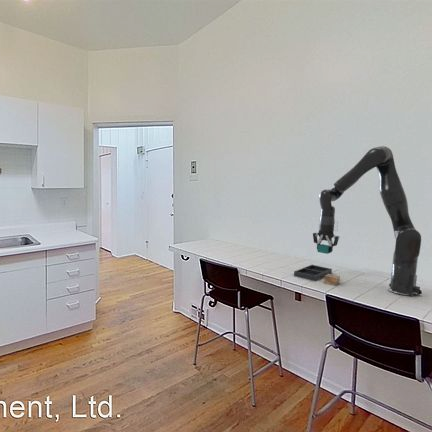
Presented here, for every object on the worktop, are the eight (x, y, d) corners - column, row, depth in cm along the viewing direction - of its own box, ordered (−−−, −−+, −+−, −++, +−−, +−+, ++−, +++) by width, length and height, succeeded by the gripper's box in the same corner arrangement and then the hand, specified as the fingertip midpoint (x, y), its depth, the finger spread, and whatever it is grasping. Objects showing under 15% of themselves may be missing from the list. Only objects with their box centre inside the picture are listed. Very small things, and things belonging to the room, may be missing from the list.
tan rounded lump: (339, 283, 165) (340, 276, 164) (335, 285, 161) (335, 278, 161) (328, 280, 169) (329, 273, 168) (324, 282, 166) (324, 275, 165)
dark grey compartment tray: (331, 273, 182) (331, 268, 181) (314, 280, 168) (314, 276, 168) (311, 268, 191) (311, 264, 191) (293, 275, 178) (294, 271, 177)
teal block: (331, 252, 178) (331, 245, 178) (327, 253, 175) (327, 247, 175) (321, 250, 183) (321, 244, 182) (317, 251, 179) (317, 245, 179)
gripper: (311, 222, 180) (308, 250, 182) (337, 225, 169) (335, 255, 171) (316, 221, 184) (314, 248, 187) (343, 224, 173) (340, 253, 175)
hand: (324, 251), depth 179 cm, fingers closed on teal block, 5 cm apart
